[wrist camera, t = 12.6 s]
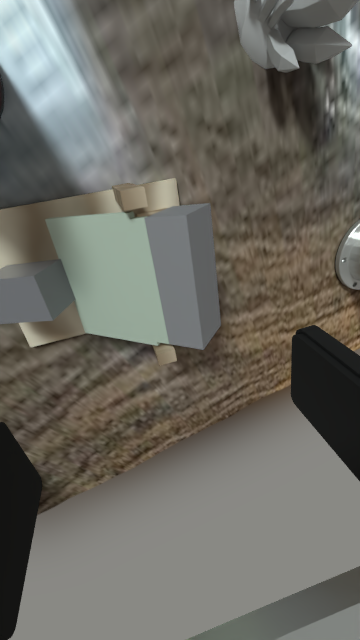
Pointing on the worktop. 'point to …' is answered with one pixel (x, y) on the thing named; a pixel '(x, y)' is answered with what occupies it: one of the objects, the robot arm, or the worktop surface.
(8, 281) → the basalt block
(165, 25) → the worktop surface
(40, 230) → the frame
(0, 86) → the vase
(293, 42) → the crystal
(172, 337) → the trapdoor
